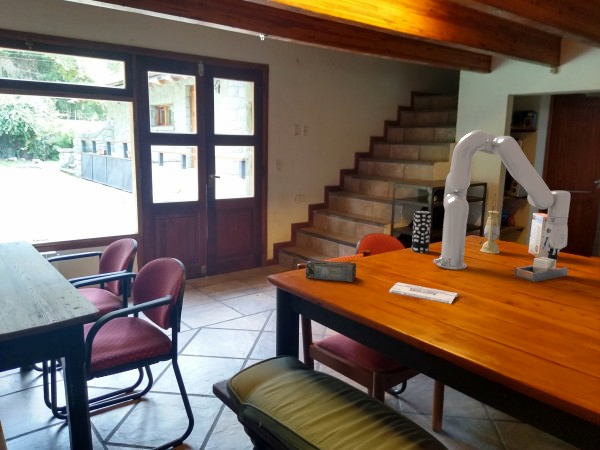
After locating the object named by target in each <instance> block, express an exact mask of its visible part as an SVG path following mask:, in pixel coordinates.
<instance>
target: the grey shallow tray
mask: <svg viewBox="0 0 600 450" xmlns="http://www.w3.org/2000/svg"><path fill="white" fill-rule="evenodd" d="M568 271H569V267H567V266H566V267H565V266H564V267H560V268H556V269H554V270H548V271H543V272H537V273H533V264H532V265H528V266H527V265H526V266H521V267H515V268H514V273H513V276H514V277H516V278H520V279H523V280H526V281H530V282H533V283H535V282H541V281H545V280H546V281H547V280H551V279H556V278H561V277H565V276H568Z"/></svg>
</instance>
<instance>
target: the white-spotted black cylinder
mask: <svg viewBox="0 0 600 450" xmlns="http://www.w3.org/2000/svg"><path fill="white" fill-rule="evenodd" d="M413 212H414V213H413V222H412V223H413V224H412V225H413V226H412V242H411V252H413V253H418V254H428V253H429V252H430V251H429V250H430V241H431V239H430V237H431V225H432V211H428V210H427V211H426V210H414V211H413Z"/></svg>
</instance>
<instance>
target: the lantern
mask: <svg viewBox="0 0 600 450" xmlns="http://www.w3.org/2000/svg"><path fill="white" fill-rule="evenodd" d="M496 194H497V193H494V197H493V202H492V204H494V203H495V205H494V206H492V207H491V208H492V209H491V210H489V211H487V213H488V215H489V216H488V217H487V221H486V224H485V227H484V230H483V231H484V232H483V236H484V238H485V239H486V240H487V241H485V242H483V241H480V243H479V245H481V248H480V249H479V251H480V252H482V253H485V254H494V255H495V254H500V250H499V245H498V244H497V243H496V240H498V238H499V237H500V226H499V217H497V216H498V214H499V213H500V211H498V210H495V208H496V204H497V201H495V199H496V198H497V195H496ZM494 201H495V202H494Z"/></svg>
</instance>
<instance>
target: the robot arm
mask: <svg viewBox="0 0 600 450" xmlns="http://www.w3.org/2000/svg"><path fill="white" fill-rule="evenodd" d="M477 152H479V153H484V154H488V155H493V156H498V158H499V159H500V160H501V161H502V163H503V165H504V166H505V168H506V170H507V171H508V173H509V174H510V175H511V177H512V178H513V179H514V180H515V181H516V182H518V184H519V185H521V186H522V188H523V189H524V190H525V191H526V193H527V196H526V197H527V202H528V203H529V205H531V206H532V207H535V208H537V209H539V210H546V209H547V213H546V214H547V222H546V223H547V225H546V228H545V233H544V239H543V246H544V247H545V250H546V251H547V253H548V258H549V259H554V260H557V261H556V265H557V263H558V255H559V254H560V250H562V249H563V248H565V247H567V245H568V232H569V231H568V230H569V229H568V219H569V212H570V205H571V204H570V203H571V193H570V191H566V190H550V188H549V186H548V185H547V184H546V183H545V181H544V179H543V178H542V176H540V174H539V173H538V171H537V170H536V169H535V167H534V166H533V165H532V163H531V162H530V161H529V159H528V158H527V156H526V154H525V153H524V152H523V150H522V147H521V146H520V145H519V143H518V142H517V141H516V139H515V138H514V137H512V136H511V135H498V134H497V135H496V134H493V133H487V131H485V130H483V129H475V130H472V131H470V132H468V133H467V134H465V135H464V136H463V137H461V138H460V140H459V141H458V142H457V143H456V145H455V147H454V149H453V153H452V156H451V163H450V171H449V172H448V173H447V176H446V177H445V178H446V179H445V187H444V194H443V208H444V215H443V217H444V218H443V225H442V227H443V228H442V241H441V254H440V255H439V257H438V258H434V259H433V260H432V263H434V264H436V265H437V266H438V267H440V268H443V269H446V270H447V269H448V270H456V271H457V270H459V271H460V270H465V269H466V268H467V264H466V263H465V262H464V257H465V248H466V247H465V246H466V237H467V236H466V235H467V224H468V218H469V217H468V216H469V208H470V205H469V202H468V201H467V193H468V188H469V187H470V185H471V178H472V177H471V176H472V168H473V161H474V157H475V155H476V154H477Z"/></svg>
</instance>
